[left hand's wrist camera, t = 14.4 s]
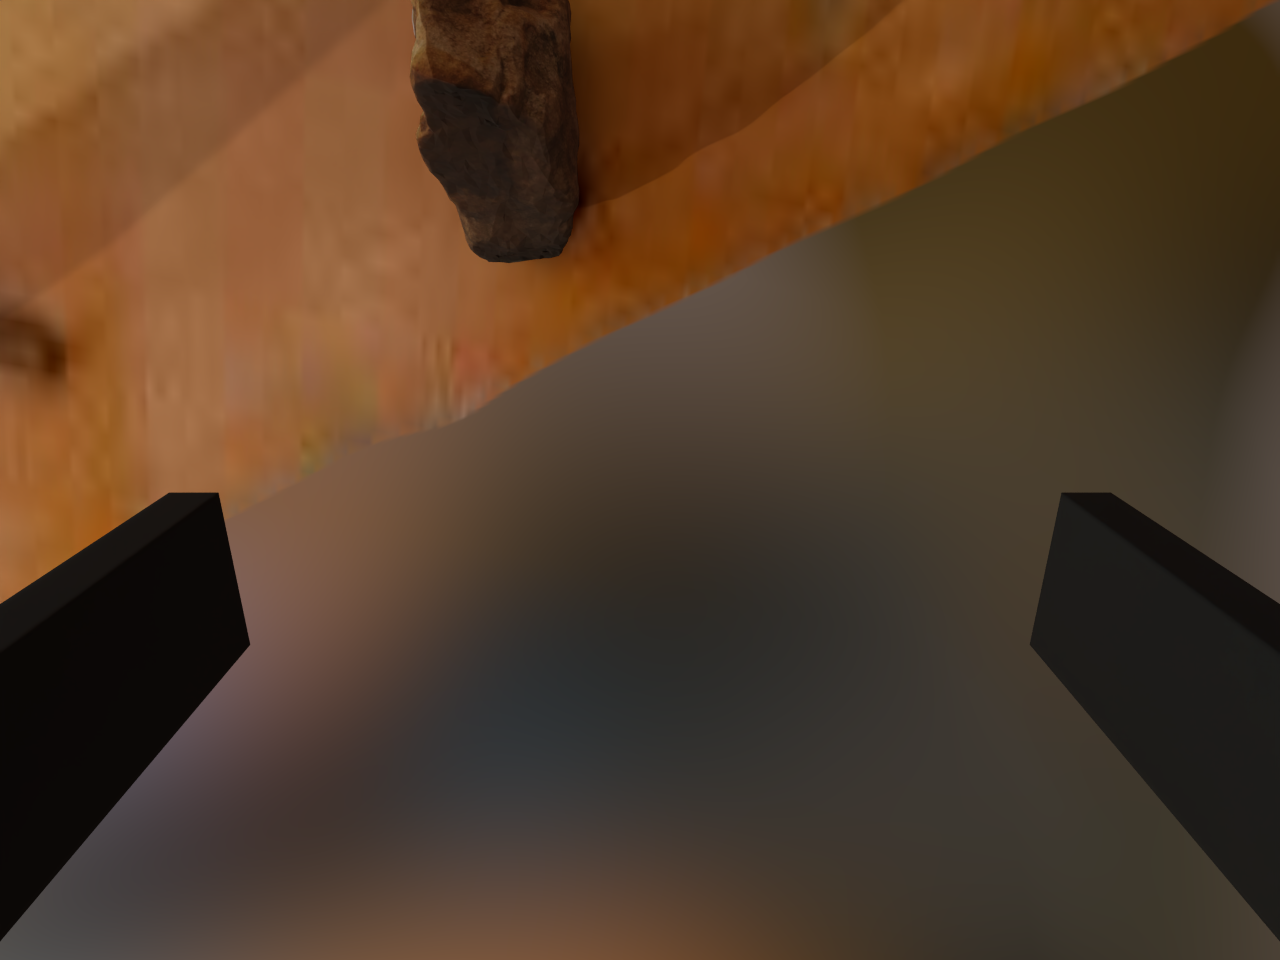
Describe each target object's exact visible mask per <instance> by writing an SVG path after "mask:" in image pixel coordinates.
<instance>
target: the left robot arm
mask: <svg viewBox="0 0 1280 960" xmlns="http://www.w3.org/2000/svg"><path fill="white" fill-rule="evenodd" d="M249 645H250V641H249V637H248V632H247V627H246V622H245V618H244V613H243V608H242V603H241V598H240V594H239V589H238V584H237V579H236V575H235V570H234V565H233V560H232V555H231V551H230V546H229V541H228V536H227V531H226V527H225V522H224V517H223V512H222V507H221V503H220V498H219V493H168V494H166V495H165V496H163V497H162V498H160V499H159V500H157V501H156V502H154V503H153V504H151V505H150V506H148V507H147V508H145V509H144V510H142V511H141V512H139V513H138V514H136V515H135V516H133V517H132V518H130V519H129V520H127V521H126V522H124V523H122V524H121V525H119V526H118V527H116V528H115V529H113V530H112V531H110V532H109V533H107V534H106V535H104V536H103V537H101V538H100V539H98V540H97V541H95V542H94V543H92V544H91V545H89V546H88V547H86V548H85V549H83V550H82V551H80V552H79V553H77V554H75V555H74V556H72V557H71V558H69V559H68V560H66V561H65V562H63V563H62V564H60V565H59V566H57V567H56V568H54V569H53V570H51V571H50V572H48V573H47V574H45V575H44V576H42V577H41V578H39V579H38V580H36V581H35V582H33V583H31V584H30V585H28V586H27V587H25V588H24V589H22V590H21V591H19V592H18V593H16V594H15V595H13V596H12V597H10V598H9V599H7V600H6V601H4V602H3V603H1V604H0V941H1V940H2V939H3V937H4V936H5V935H6V934H7V932H8V931H9V930H10V929H11V928H12V927H13V925H14V924H15V923H16V922H17V921H18V919H19V918H20V917H21V916H22V915H23V914H24V912H25V911H26V910H27V909H28V908H29V906H30V905H31V904H32V903H33V902H34V901H35V899H36V898H37V897H38V896H39V895H40V893H41V892H42V891H43V890H44V889H45V887H46V886H47V885H48V884H49V883H50V882H51V880H52V879H53V878H54V877H55V876H56V874H57V873H58V872H59V871H60V870H61V869H62V867H63V866H64V865H65V864H66V863H67V861H68V860H69V859H70V858H71V857H72V855H73V854H74V853H75V852H76V851H77V850H78V848H79V847H80V846H81V845H82V844H83V842H84V841H85V840H86V839H87V838H88V836H89V835H90V834H91V833H92V832H93V831H94V829H95V828H96V827H97V826H98V825H99V823H100V822H101V821H102V820H103V819H104V817H105V816H106V815H107V814H108V813H109V812H110V810H111V809H112V808H113V807H114V806H115V804H116V803H117V802H118V801H119V800H120V798H121V797H122V796H123V795H124V794H125V793H126V791H127V790H128V789H129V788H130V787H131V785H132V784H133V783H134V782H135V781H136V780H137V778H138V777H139V776H140V775H141V774H142V772H143V771H144V770H145V769H146V768H147V766H148V765H149V764H150V763H151V762H152V761H153V759H154V758H155V757H156V756H157V755H158V753H159V752H160V751H161V750H162V749H163V747H164V746H165V745H166V744H167V743H168V742H169V740H170V739H171V738H172V737H173V736H174V734H175V733H176V732H177V731H178V730H179V728H180V727H181V726H182V725H183V724H184V723H185V721H186V720H187V719H188V718H189V717H190V715H191V714H192V713H193V712H194V711H195V710H196V708H197V707H198V706H199V705H200V704H201V702H202V701H203V700H204V699H205V698H206V696H207V695H208V694H209V693H210V692H211V691H212V689H213V688H214V687H215V686H216V685H217V683H218V682H219V681H220V680H221V679H222V677H223V676H224V675H225V674H226V673H227V672H228V670H229V669H230V668H231V667H232V666H233V664H234V663H235V662H236V661H237V660H238V659H239V657H240V656H241V655H242V654H243V653H244V651H245V650H246V649H247V648H248V647H249ZM1030 645H1031V647H1032V648H1033V649H1034V650H1035V651H1036V653H1037V654H1038V655H1039V656H1040V657H1041V658H1042V660H1043V661H1044V662H1045V663H1046V664H1047V666H1048V667H1049V668H1050V669H1051V670H1052V672H1053V673H1054V674H1055V675H1056V676H1057V677H1058V679H1059V680H1060V681H1061V682H1062V683H1063V685H1064V686H1065V687H1066V688H1067V689H1068V691H1069V692H1070V693H1071V694H1072V695H1073V696H1074V698H1075V699H1076V700H1077V701H1078V702H1079V704H1080V705H1081V706H1082V707H1083V708H1084V710H1085V711H1086V712H1087V713H1088V714H1089V715H1090V717H1091V718H1092V719H1093V720H1094V721H1095V723H1096V724H1097V725H1098V726H1099V727H1100V728H1101V730H1102V731H1103V732H1104V733H1105V734H1106V736H1107V737H1108V738H1109V739H1110V740H1111V741H1112V743H1113V744H1114V745H1115V746H1116V747H1117V749H1118V750H1119V751H1120V752H1121V753H1122V755H1123V756H1124V757H1125V758H1126V759H1127V761H1128V762H1129V763H1130V764H1131V765H1132V766H1133V768H1134V769H1135V770H1136V771H1137V772H1138V774H1139V775H1140V776H1141V777H1142V778H1143V779H1144V781H1145V782H1146V783H1147V784H1148V785H1149V787H1150V788H1151V789H1152V790H1153V791H1154V793H1155V794H1156V795H1157V796H1158V797H1159V799H1160V800H1161V801H1162V802H1163V803H1164V804H1165V806H1166V807H1167V808H1168V809H1169V810H1170V812H1171V813H1172V814H1173V815H1174V816H1175V817H1176V819H1177V820H1178V821H1179V822H1180V823H1181V825H1182V826H1183V827H1184V828H1185V829H1186V831H1187V832H1188V833H1189V834H1190V835H1191V836H1192V838H1193V839H1194V840H1195V841H1196V842H1197V844H1198V845H1199V846H1200V847H1201V848H1202V850H1203V851H1204V852H1205V853H1206V854H1207V855H1208V857H1209V858H1210V859H1211V860H1212V861H1213V863H1214V864H1215V865H1216V866H1217V867H1218V869H1219V870H1220V871H1221V872H1222V873H1223V874H1224V876H1225V877H1226V878H1227V879H1228V880H1229V881H1230V883H1231V884H1232V885H1233V886H1234V887H1235V889H1236V890H1237V891H1238V892H1239V893H1240V895H1241V896H1242V897H1243V898H1244V899H1245V901H1246V902H1247V903H1248V904H1249V905H1250V906H1251V908H1252V909H1253V910H1254V911H1255V912H1256V914H1257V915H1258V916H1259V917H1260V918H1261V920H1262V921H1263V922H1264V923H1265V924H1266V925H1267V927H1268V928H1269V929H1270V930H1271V931H1272V933H1273V934H1274V935H1275V936H1276V937H1277V939H1278V940H1279V941H1280V604H1279V603H1277V602H1276V601H1274V600H1273V599H1271V598H1270V597H1268V596H1267V595H1265V594H1264V593H1262V592H1261V591H1259V590H1258V589H1256V588H1255V587H1253V586H1251V585H1250V584H1249V583H1247V582H1245V581H1244V580H1242V579H1241V578H1239V577H1238V576H1236V575H1235V574H1233V573H1232V572H1230V571H1229V570H1227V569H1226V568H1224V567H1223V566H1221V565H1220V564H1218V563H1217V562H1215V561H1214V560H1212V559H1210V558H1209V557H1208V556H1206V555H1205V554H1203V553H1201V552H1200V551H1198V550H1197V549H1195V548H1194V547H1192V546H1191V545H1189V544H1188V543H1186V542H1185V541H1183V540H1182V539H1180V538H1179V537H1177V536H1176V535H1174V534H1173V533H1171V532H1170V531H1168V530H1167V529H1165V528H1164V527H1162V526H1161V525H1159V524H1158V523H1156V522H1154V521H1153V520H1151V519H1150V518H1148V517H1147V516H1145V515H1144V514H1142V513H1141V512H1139V511H1138V510H1136V509H1135V508H1133V507H1132V506H1130V505H1129V504H1127V503H1126V502H1124V501H1123V500H1121V499H1120V498H1118V497H1117V496H1115V495H1113V494H1112V493H1061V498H1060V503H1059V508H1058V512H1057V517H1056V522H1055V527H1054V531H1053V536H1052V541H1051V546H1050V551H1049V555H1048V560H1047V565H1046V570H1045V574H1044V579H1043V584H1042V589H1041V594H1040V598H1039V603H1038V608H1037V613H1036V617H1035V622H1034V627H1033V632H1032V637H1031V642H1030Z"/></svg>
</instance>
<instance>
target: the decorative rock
mask: <svg viewBox="0 0 1280 960" xmlns="http://www.w3.org/2000/svg"><path fill="white" fill-rule="evenodd" d="M411 3H412V8H413V9H412V22H413V29H414V35H415V38H416V41H415V44H414V47H413V50H412V57H411V68H410V81H411V85H412V88H413V91H414V93H415V96H416V99H417V101H418V103H419V104H420V106H421V107H422V109H423V113H422V115H421V117H420V125H419V128H418V130H417V132H416V138H417V142H418V146H419V150H420V153H421V155H422V158H423V160H424V162H425V164H426V165H427V167H428V169H429V171H430V172H431V173H432V174H433V175H434V176H435V177H436V178H437V179H438V180H439V181H440V183H441V184H442V185H443V187H444V189H445V191H446V193H447V195H448V197H449V199H450V200H451V201H452V202H453V203H454V204H455V205H456V207H457V210H458V214H459V217H460V220H461V223H462V226H463V229H464V232H465V237H466V241H467V243H468V245H469V247H470V249H471V250H472V251H473V252H474V253H475V254H476V255H478V256H479V257H481V258H483V259H486V260H487V261H488V262H505V263H512V262H520V261H526V260H533V259H542V258H552V257H556V256H559V255H560V254H561V253H562V250H563V248H564V246H565V245H566V243H567V241H568V238H569V236H570V235H571V231H572V228H573V213H574V211H575V209H576V208H577V206H578V202H579V186H578V177H577V152H578V147H579V127H578V120H577V114H576V98H575V93H574V87H573V82H572V64H571V52H570V41H571V33H570V22H571V10H570V4H569V1H568V0H411Z"/></svg>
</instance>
